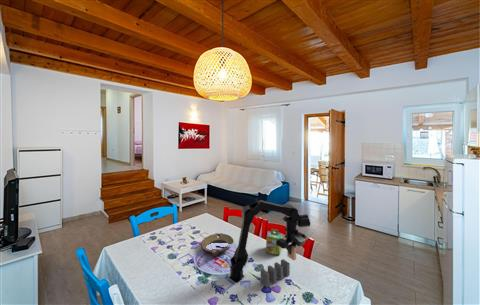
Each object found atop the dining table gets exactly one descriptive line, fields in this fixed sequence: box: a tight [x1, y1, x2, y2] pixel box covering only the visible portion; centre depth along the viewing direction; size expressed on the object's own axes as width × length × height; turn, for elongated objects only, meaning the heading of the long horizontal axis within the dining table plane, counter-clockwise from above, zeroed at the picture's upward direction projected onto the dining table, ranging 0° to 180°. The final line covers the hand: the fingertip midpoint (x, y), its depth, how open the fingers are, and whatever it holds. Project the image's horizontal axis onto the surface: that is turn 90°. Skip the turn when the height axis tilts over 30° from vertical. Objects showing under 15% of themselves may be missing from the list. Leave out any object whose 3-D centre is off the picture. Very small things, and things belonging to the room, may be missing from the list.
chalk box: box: [265, 228, 283, 257], centre depth 140 cm, size 9×9×15 cm
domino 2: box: [267, 265, 278, 285], centre depth 111 cm, size 2×5×7 cm, turn 33°
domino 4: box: [280, 258, 291, 278], centre depth 117 cm, size 2×5×7 cm, turn 34°
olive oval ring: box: [200, 232, 235, 257], centre depth 142 cm, size 22×30×8 cm
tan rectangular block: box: [286, 246, 297, 261], centre depth 119 cm, size 2×5×7 cm, turn 34°
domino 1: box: [260, 268, 270, 289], centre depth 108 cm, size 2×5×7 cm, turn 33°
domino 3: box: [273, 261, 284, 281], centre depth 114 cm, size 2×5×7 cm, turn 33°
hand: (291, 253), depth 119 cm, fingers closed on tan rectangular block, 2 cm apart
